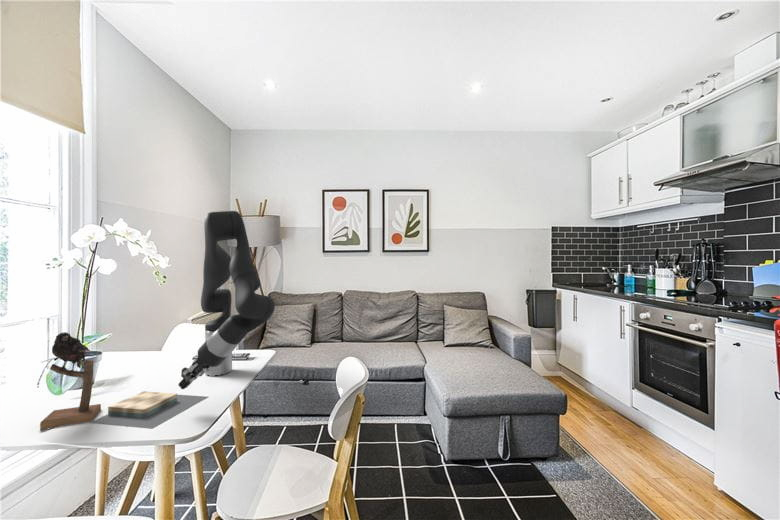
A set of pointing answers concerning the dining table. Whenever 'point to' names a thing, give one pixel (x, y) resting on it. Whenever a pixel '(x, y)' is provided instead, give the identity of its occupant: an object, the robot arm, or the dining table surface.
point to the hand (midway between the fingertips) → (182, 386)
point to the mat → (155, 418)
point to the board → (142, 404)
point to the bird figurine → (72, 352)
